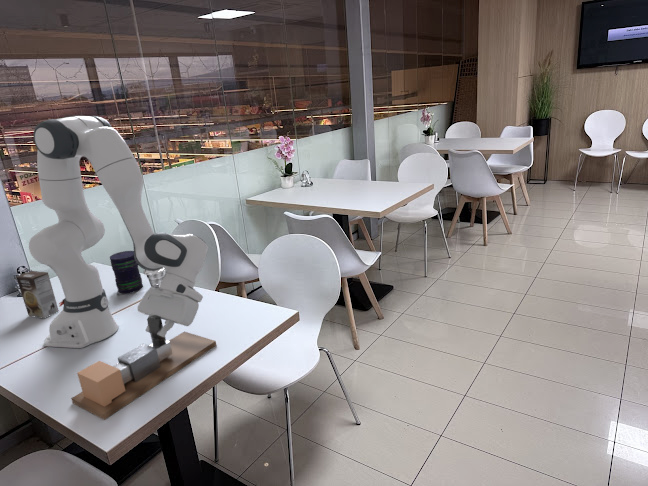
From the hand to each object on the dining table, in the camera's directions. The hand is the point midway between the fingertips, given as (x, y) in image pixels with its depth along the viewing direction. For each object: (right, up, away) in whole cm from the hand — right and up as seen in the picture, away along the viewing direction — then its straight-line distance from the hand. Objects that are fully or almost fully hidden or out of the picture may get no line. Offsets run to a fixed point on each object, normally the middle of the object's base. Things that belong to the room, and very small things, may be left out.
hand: (154, 334), depth 128 cm
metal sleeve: (-3, -10, -2) cm, 10 cm away
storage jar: (-32, +6, +61) cm, 69 cm away
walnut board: (-1, -10, 0) cm, 11 cm away
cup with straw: (-18, +5, +53) cm, 56 cm away
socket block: (-9, -13, -11) cm, 19 cm away
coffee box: (-58, -1, +45) cm, 73 cm away
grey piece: (-4, -9, -4) cm, 11 cm away
